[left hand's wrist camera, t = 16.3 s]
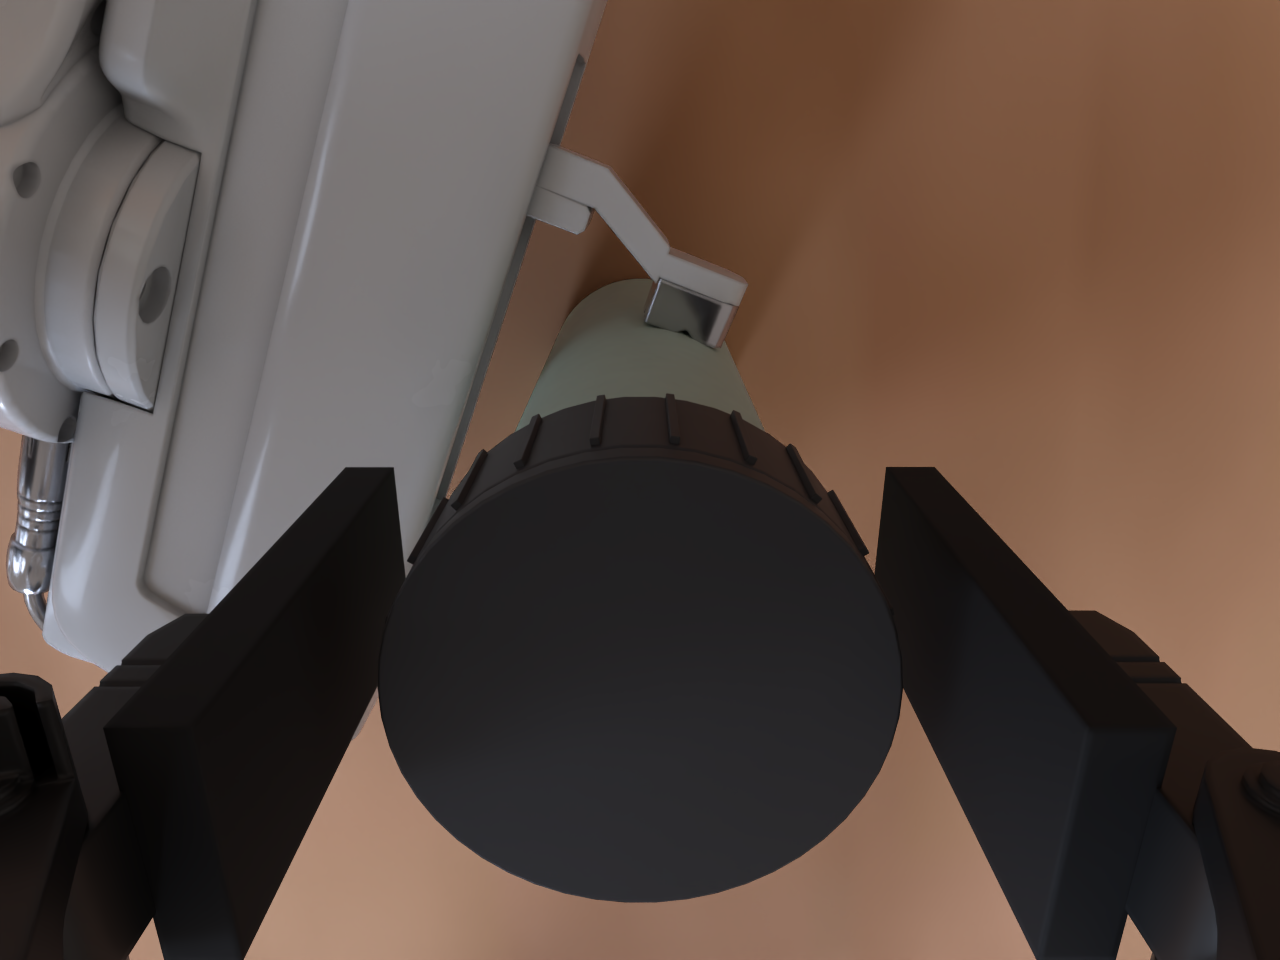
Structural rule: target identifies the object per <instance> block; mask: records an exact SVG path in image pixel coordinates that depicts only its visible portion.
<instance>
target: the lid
mask: <svg viewBox="0 0 1280 960" xmlns="http://www.w3.org/2000/svg"><path fill="white" fill-rule="evenodd" d="M868 553H869V551H868V550H867V548H866V546H865V544H864V543H863V541H862V539H861V537H860V536H859V534H858V532H857V530H856V529H855V527H854V525H853V523H852V522H851V520H850V518H849V516H848V515H847V513H846V511H845V509H844V508H843V506H842V504H841V502H840V501H839V499H838V497H837V495H836V494H835V492H834V491H833V490H831V491H830V492H827V491H826V490H825V488H824V487H823V486H822V484H821V483H820V482H819V480H818V479H817V478H816V476H815V475H814V474H813V472H812V471H811V470H810V469H809V468H808V467H807V466H806V465H805V464H804V462H803V461H802V459H801V457H800V455H799V453H798V451H797V449H796V448H795V447H794V446H793V445H792V444H789V445H788V446H787V447H785V446H784V445H783V444H781V443H780V442H779V441H778V440H776V439H775V438H774V437H772V436H771V435H770V434H768V433H766V432H765V431H763V430H761V429H759V428H757V427H756V426H754V425H752V424H750V423H749V422H747V421H745V420H743V419H742V416H741V414H740V413H739V412H737V411H735V410H733V411H732V413H731V414H728V413H726V412H723V411H721V410H719V409H716V408H713V407H709V406H705V405H701V404H697V403H693V402H689V401H685V400H677V399H675V396H674V394H668V393H666V397H665V398H661V397H619V398H611V399H606V397H605V395H598V396H597V398H596V401H591V402H587V403H583V404H580V405H576V406H572V407H568V408H564V409H562V410H559V411H557V412H554V413H552V414H550V415H547V416H545V417H542V418H541V416H540V414H537V415H535V416H533V417H532V418H531V420H530V423H529V424H528V425H527V426H525V427H523V428H521V429H520V430H518V431H516V432H514V433H512V434H511V435H509V436H508V437H507V438H506V439H504V440H503V441H502V442H500V443H499V444H498V445H496V446H495V447H494V448H492V449H491V450H490V451H489V452H486V451H485V450H484V449H483V450H482V451H481V452H479V453H478V455H477V457H476V459H475V461H474V462H473V464H472V466H471V468H470V470H469V472H468V473H467V474H466V476H465V477H464V478H463V480H462V481H461V482H460V484H459V485H458V486H457V488H456V489H455V490H454V492H453V493H452V495H451V497H450V498H449V500H448V499H446V498H445V497H443V498H442V500H441V501H440V503H439V505H438V507H437V508H436V510H435V512H434V514H433V515H432V517H431V519H430V521H429V522H428V524H427V526H426V528H425V529H424V531H423V533H422V535H421V536H420V538H419V540H418V542H417V543H416V545H415V547H414V549H413V550H412V552H411V554H410V556H409V558H408V559H407V562H409V563H411V564H413V566H412V568H411V570H410V571H409V573H408V575H407V577H406V579H405V581H404V583H403V584H402V586H401V588H400V590H399V592H398V594H397V596H396V597H395V599H394V602H393V604H392V606H391V608H390V610H389V612H388V613H387V615H386V618H385V627H384V631H383V636H382V642H381V647H380V652H379V658H378V696H379V703H380V711H381V718H382V722H383V725H384V729H385V732H386V736H387V739H388V743H389V746H390V749H391V751H392V753H393V755H394V757H395V760H396V762H397V764H398V766H399V768H400V771H401V773H402V774H403V776H404V778H405V779H406V781H407V782H408V784H409V786H410V787H411V789H412V790H413V792H414V793H415V795H416V797H417V798H418V799H419V800H420V802H421V803H422V804H423V805H424V806H425V808H426V809H427V810H428V811H429V812H430V814H431V815H432V816H433V817H434V818H435V820H436V821H438V822H439V823H440V824H441V825H442V826H443V827H444V828H445V829H446V830H447V831H448V832H449V833H450V834H452V835H453V836H454V837H455V838H456V839H457V840H458V841H460V842H461V843H462V844H464V845H465V846H466V847H468V848H469V849H471V850H472V851H473V852H475V853H476V854H477V855H479V856H480V857H482V858H483V859H485V860H487V861H489V862H490V863H492V864H494V865H496V866H497V867H499V868H501V869H503V870H504V871H506V872H508V873H510V874H513V875H515V876H517V877H520V878H522V879H524V880H527V881H529V882H531V883H534V884H536V885H539V886H543V887H546V888H549V889H552V890H555V891H559V892H562V893H565V894H570V895H575V896H580V897H585V898H590V899H596V900H606V901H616V902H665V901H674V900H684V899H690V898H695V897H700V896H705V895H710V894H715V893H719V892H722V891H725V890H728V889H731V888H735V887H738V886H741V885H744V884H747V883H749V882H752V881H754V880H756V879H758V878H761V877H763V876H765V875H768V874H770V873H772V872H774V871H776V870H778V869H780V868H781V867H783V866H785V865H787V864H788V863H790V862H792V861H794V860H795V859H797V858H799V857H800V856H802V855H803V854H805V853H806V852H807V851H809V850H810V849H811V848H813V847H814V846H815V845H817V844H818V843H820V842H821V841H822V840H824V839H825V838H826V837H827V836H828V835H829V834H830V833H831V832H832V831H833V830H834V829H835V828H836V827H838V826H839V825H840V824H841V823H842V822H843V821H844V820H845V819H846V818H847V817H848V815H849V814H850V813H851V812H852V811H853V809H854V808H855V807H856V806H857V805H858V803H859V802H860V801H861V800H862V799H863V797H864V796H865V794H866V793H867V791H868V790H869V788H870V786H871V785H872V783H873V782H874V780H875V778H876V777H877V775H878V774H879V772H880V770H881V768H882V765H883V763H884V761H885V759H886V756H887V754H888V752H889V750H890V747H891V745H892V741H893V738H894V734H895V731H896V727H897V724H898V720H899V716H900V708H901V700H902V692H903V669H902V654H901V649H900V644H899V639H898V633H897V628H896V625H895V623H894V620H893V617H892V616H893V615H894V611H893V607H892V606H891V604H890V602H889V600H888V598H887V597H886V595H885V593H884V591H883V589H882V588H881V586H880V584H879V582H878V580H877V578H876V577H875V575H874V573H873V571H872V569H871V568H870V566H869V564H868V562H867V560H866V559H865V557H864V556H865V555H867V554H868Z"/></svg>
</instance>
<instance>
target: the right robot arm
mask: <svg viewBox="0 0 1280 960" xmlns="http://www.w3.org/2000/svg"><path fill="white" fill-rule="evenodd" d="M607 1H608V0H0V427H1V428H4V429H7V430H10V431H13V432H16V433H19V434H22V435H23V436H22V443H21V451H20V458H19V466H18V475H17V499H18V507H17V510H18V513H17V523H16V528H15V532H14V533H13V534H12V535H11V538H10V541H9V545H8V549H7V556H6V571H7V579H8V583H9V585H10V587H11V588H12V589H13V590H15V591H17V592H19V593H23V595H24V601H25V604H26V606H27V609H28V611H29V613H30V615H31V617H32V618H33V620H34V622H35V623H36V624H37V625H38V627H39V628H40V629H41V630H42V635H43V638H44V640H45V641H46V642H47V643H48V644H49V645H50V646H52V647H53V648H55V649H56V650H58V651H60V652H62V653H64V654H66V655H69V656H71V657H74V658H77V659H80V660H84V661H87V662H90V663H93V664H95V665H97V666H98V667H100V668H101V669H103V670H105V671H106V672H108V673H109V672H110V671H111V670H112V669H113V668H114V667H115V666H116V665H121V663H122V661H121V660H122V659H123V658H124V657H125V656H126V655H127V654H128V653H129V652H130V651H131V650H132V649H133V648H134V647H135V646H136V645H137V644H138V643H139V642H140V641H142V640H143V639H144V638H145V637H146V636H147V635H148V634H150V633H152V632H153V631H155V630H157V629H159V628H161V627H162V626H164V625H166V624H168V623H169V622H171V621H173V620H175V619H177V618H178V617H180V616H182V615H184V614H209V613H210V612H211V611H212V610H213V609H214V608H215V607H216V606H217V605H218V604H219V602H220V601H221V600H222V599H223V598H224V597H225V596H226V595H227V594H228V593H229V592H230V591H231V590H232V589H233V587H234V586H235V585H236V584H237V583H238V582H239V581H240V580H241V579H242V578H243V577H244V576H245V575H246V573H247V572H248V571H249V570H250V569H251V568H252V567H253V566H254V565H255V564H256V563H257V562H258V561H259V560H260V558H261V557H262V556H263V555H264V554H265V553H266V552H267V551H268V550H269V549H270V548H271V547H272V546H273V544H274V543H275V542H276V541H277V540H278V539H279V538H280V537H281V536H282V535H283V534H284V533H285V532H286V531H287V529H288V528H289V527H290V526H291V525H292V524H293V523H294V522H295V521H296V520H297V519H298V518H299V517H300V516H301V514H302V513H303V512H304V511H305V510H306V509H307V508H308V507H309V506H310V505H311V504H312V503H313V502H314V500H315V499H316V498H317V497H318V496H319V495H320V494H321V493H322V492H323V491H324V490H325V489H326V488H327V487H328V485H329V484H330V483H331V482H332V481H333V480H334V479H335V478H336V477H337V476H338V475H339V474H340V473H341V471H342V470H343V469H344V468H345V467H394V473H395V482H396V492H397V501H398V510H399V520H400V529H401V538H402V548H403V557H404V566H405V576H406V577H407V575H408V573H409V571H410V570H411V568H412V566H413V564H411V563H409V562H407V559H408V558H409V556H410V554H411V552H412V550H413V549H414V547H415V545H416V543H417V542H418V540H419V538H420V536H421V535H422V533H423V531H424V529H425V528H426V526H427V524H428V522H429V521H430V519H431V517H432V515H433V514H434V512H435V510H436V508H437V507H438V505H439V503H440V501H441V500H442V498H443V497H445V498H446V496H447V493H448V490H449V487H450V484H451V481H452V478H453V475H454V472H455V468H456V465H457V462H458V459H459V456H460V453H461V450H462V447H463V444H464V441H465V438H466V435H467V432H468V428H469V425H470V422H471V419H472V416H473V413H474V410H475V407H476V404H477V401H478V398H479V395H480V392H481V388H482V385H483V382H484V379H485V376H486V373H487V370H488V367H489V364H490V361H491V358H492V355H493V352H494V348H495V345H496V342H497V339H498V336H499V333H500V330H501V327H502V324H503V321H504V318H505V315H506V311H507V308H508V305H509V302H510V299H511V296H512V293H513V290H514V287H515V284H516V281H517V278H518V275H519V271H520V268H521V265H522V262H523V259H524V256H525V253H526V250H527V247H528V244H529V241H530V238H531V235H532V231H533V228H534V225H535V222H536V219H537V220H540V221H542V222H545V223H548V224H550V225H553V226H556V227H558V228H561V229H564V230H566V231H569V232H572V233H574V234H577V235H578V234H579V233H581V232H583V231H585V229H586V228H587V226H588V225H589V224H590V221H591V219H592V216H593V213H594V211H595V210H596V211H597V212H598V213H599V215H600V216H601V217H602V218H603V220H604V221H605V222H606V223H607V224H608V226H609V227H610V228H611V229H612V231H613V232H614V233H615V234H616V236H617V237H618V238H619V239H620V240H621V242H622V243H623V244H624V245H625V247H626V248H627V249H628V250H629V251H630V253H631V254H632V255H633V256H634V258H635V259H636V260H637V261H638V263H639V264H640V265H641V266H642V267H643V269H644V270H645V271H646V272H647V274H648V275H649V276H650V277H651V278H652V280H653V283H652V286H651V289H650V291H649V294H648V297H647V300H646V303H645V305H644V313H645V314H644V322H646V323H649V324H651V325H654V326H657V327H659V328H662V329H664V330H668V331H672V332H680V331H684V330H687V332H688V333H689V335H690V336H691V338H692V339H694V340H696V341H698V342H700V343H701V344H704V345H706V346H710V347H713V348H721V347H722V344H723V342H724V340H725V337H726V335H727V333H728V331H729V328H730V326H731V324H732V321H733V319H734V317H735V315H736V312H737V310H738V308H739V305H740V302H741V300H742V298H743V295H744V293H745V291H746V288H747V286H748V283H747V282H746V281H745V279H744V278H743V277H741V276H740V275H738V274H736V273H734V272H732V271H730V270H728V269H726V268H723V267H721V266H718V265H715V264H713V263H710V262H708V261H705V260H703V259H700V258H698V257H695V256H693V255H690V254H688V253H685V252H683V251H680V250H678V249H675V248H673V247H670V244H669V241H668V239H667V237H666V236H665V235H664V234H663V232H662V231H661V230H660V228H659V227H658V226H657V225H656V223H655V222H654V221H653V220H652V218H651V217H650V216H649V214H648V213H647V212H646V211H645V209H644V208H643V207H642V205H641V204H640V203H639V202H638V200H637V199H636V198H635V197H634V195H633V194H632V193H631V191H630V190H629V189H628V188H627V186H626V185H625V184H624V182H623V181H622V180H621V179H620V177H619V176H618V175H617V174H616V172H615V171H614V170H613V168H612V167H611V166H609V165H607V164H604V163H602V162H599V161H597V160H594V159H592V158H589V157H587V156H584V155H582V154H579V153H577V152H574V151H572V150H569V149H567V148H564V147H562V146H560V145H561V142H562V139H563V136H564V133H565V130H566V127H567V124H568V121H569V118H570V115H571V111H572V108H573V105H574V102H575V99H576V96H577V93H578V90H579V87H580V84H581V81H582V78H583V75H584V71H585V68H586V65H587V62H588V59H589V56H590V53H591V50H592V47H593V44H594V41H595V38H596V35H597V31H598V28H599V25H600V22H601V19H602V16H603V13H604V10H605V7H606V4H607ZM48 591H49V592H48ZM45 592H48V599H47V603H46V600H45V597H44V593H45ZM377 698H378V686H377V688H376V691H375V693H374V695H373V697H372V699H371V701H370V703H369V705H368V707H367V709H366V711H365V713H364V715H363V717H362V719H361V721H360V723H359V725H358V727H357V729H356V731H355V733H354V735H353V737H352V739H351V740H353V739H355V738H356V737H357V736H358V734H359V733H360V732H361V730H362V728H363V726H364V724H365V722H366V720H367V718H368V716H369V714H370V712H371V711H372V709H373V707H374V705H375V703H376V701H377Z"/></svg>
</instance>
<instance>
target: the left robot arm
mask: <svg viewBox="0 0 1280 960" xmlns="http://www.w3.org/2000/svg"><path fill="white" fill-rule="evenodd" d="M875 577H876V578H877V580H878V582H879V584H880V586H881V588H882V589H883V591H884V593H885V595H886V597H887V598H888V600H889V602H890V604H891V606H892V607H893V611H894V615H893V616H892V617H893V620H894V623H895V625H896V628H897V633H898V639H899V644H900V649H901V654H902V669H903V688H904V691H905V693H906V695H907V697H908V699H909V701H910V703H911V705H912V707H913V709H914V711H915V713H916V715H917V717H918V719H919V721H920V723H921V725H922V727H923V729H924V731H925V733H926V735H927V737H928V739H929V742H930V744H931V746H932V748H933V750H934V752H935V754H936V756H937V758H938V760H939V762H940V764H941V766H942V768H943V770H944V772H945V774H946V776H947V778H948V780H949V782H950V784H951V786H952V788H953V790H954V793H955V795H956V797H957V799H958V801H959V803H960V805H961V807H962V809H963V811H964V813H965V815H966V817H967V819H968V821H969V823H970V825H971V827H972V829H973V831H974V833H975V835H976V837H977V839H978V841H979V844H980V846H981V848H982V850H983V852H984V854H985V856H986V858H987V860H988V862H989V864H990V866H991V868H992V870H993V872H994V874H995V876H996V878H997V880H998V882H999V884H1000V886H1001V888H1002V890H1003V892H1004V895H1005V897H1006V899H1007V901H1008V903H1009V905H1010V907H1011V909H1012V911H1013V913H1014V915H1015V917H1016V919H1017V921H1018V923H1019V925H1020V927H1021V929H1022V931H1023V933H1024V935H1025V937H1026V939H1027V941H1028V943H1029V946H1030V948H1031V950H1032V952H1033V954H1034V956H1035V958H1036V960H1116V957H1117V953H1118V949H1119V945H1120V942H1121V938H1122V934H1123V930H1124V927H1125V923H1126V919H1127V915H1129V916H1130V918H1131V919H1132V921H1133V922H1134V924H1135V926H1136V927H1137V929H1138V930H1139V932H1140V933H1141V935H1142V937H1143V938H1144V940H1145V941H1146V943H1147V944H1148V946H1149V947H1150V949H1151V951H1152V956H1151V959H1150V960H1280V752H1277V751H1272V750H1263V749H1254V748H1252V747H1251V746H1250V745H1249V744H1248V743H1247V742H1246V741H1245V740H1244V739H1243V738H1242V737H1241V736H1240V735H1239V734H1238V733H1237V732H1236V731H1235V730H1234V729H1233V728H1232V727H1231V726H1230V725H1228V724H1227V723H1226V722H1225V721H1224V720H1223V719H1222V718H1221V717H1220V716H1219V715H1218V714H1217V713H1216V712H1215V711H1214V710H1213V709H1212V708H1211V707H1210V706H1209V705H1208V704H1207V703H1206V702H1205V701H1204V700H1203V699H1202V698H1201V697H1200V696H1199V695H1198V694H1197V693H1196V692H1195V691H1194V690H1193V689H1192V688H1191V687H1189V686H1188V685H1187V684H1186V683H1181V678H1180V677H1179V676H1178V675H1177V674H1176V673H1175V672H1174V671H1173V670H1172V669H1171V668H1170V667H1169V666H1168V665H1167V664H1166V663H1165V662H1160V661H1159V656H1158V655H1157V654H1156V653H1155V652H1154V651H1153V650H1152V649H1150V648H1149V647H1148V646H1147V645H1146V644H1145V643H1144V642H1143V641H1142V640H1141V639H1140V638H1139V637H1138V636H1137V635H1136V634H1135V633H1134V632H1133V631H1131V630H1129V629H1127V628H1125V627H1124V626H1122V625H1120V624H1118V623H1116V622H1115V621H1113V620H1111V619H1109V618H1107V617H1106V616H1104V615H1102V614H1100V613H1099V612H1097V611H1068V610H1067V609H1066V608H1065V607H1064V606H1063V605H1062V604H1061V602H1060V601H1059V600H1058V599H1057V598H1056V597H1055V596H1054V595H1053V594H1052V593H1051V592H1050V591H1049V590H1048V589H1047V587H1046V586H1045V585H1044V584H1043V583H1042V582H1041V581H1040V580H1039V579H1038V578H1037V577H1036V576H1035V575H1034V574H1033V572H1032V571H1031V570H1030V569H1029V568H1028V567H1027V566H1026V565H1025V564H1024V563H1023V562H1022V561H1021V560H1020V558H1019V557H1018V556H1017V555H1016V554H1015V553H1014V552H1013V551H1012V550H1011V549H1010V548H1009V547H1008V546H1007V545H1006V543H1005V542H1004V541H1003V540H1002V539H1001V538H1000V537H999V536H998V535H997V534H996V533H995V532H994V531H993V529H992V528H991V527H990V526H989V525H988V524H987V523H986V522H985V521H984V520H983V519H982V518H981V517H980V516H979V514H978V513H977V512H976V511H975V510H974V509H973V508H972V507H971V506H970V505H969V504H968V503H967V502H966V500H965V499H964V498H963V497H962V496H961V495H960V494H959V493H958V492H957V491H956V490H955V489H954V488H953V487H952V485H951V484H950V483H949V482H948V481H947V480H946V479H945V478H944V477H943V476H942V475H941V474H940V473H939V472H938V470H937V469H936V468H935V467H886V473H885V482H884V492H883V501H882V510H881V520H880V529H879V538H878V547H877V557H876V566H875ZM405 579H406V576H405V566H404V557H403V548H402V538H401V529H400V520H399V510H398V501H397V492H396V482H395V473H394V467H345V468H344V469H343V470H342V471H341V473H340V474H339V475H338V476H337V477H336V478H335V479H334V480H333V481H332V482H331V483H330V484H329V485H328V487H327V488H326V489H325V490H324V491H323V492H322V493H321V494H320V495H319V496H318V497H317V498H316V499H315V500H314V502H313V503H312V504H311V505H310V506H309V507H308V508H307V509H306V510H305V511H304V512H303V513H302V514H301V516H300V517H299V518H298V519H297V520H296V521H295V522H294V523H293V524H292V525H291V526H290V527H289V528H288V529H287V531H286V532H285V533H284V534H283V535H282V536H281V537H280V538H279V539H278V540H277V541H276V542H275V543H274V544H273V546H272V547H271V548H270V549H269V550H268V551H267V552H266V553H265V554H264V555H263V556H262V557H261V558H260V560H259V561H258V562H257V563H256V564H255V565H254V566H253V567H252V568H251V569H250V570H249V571H248V572H247V573H246V575H245V576H244V577H243V578H242V579H241V580H240V581H239V582H238V583H237V584H236V585H235V586H234V587H233V589H232V590H231V591H230V592H229V593H228V594H227V595H226V596H225V597H224V598H223V599H222V600H221V601H220V602H219V604H218V605H217V606H216V607H215V608H214V609H213V610H212V611H211V612H210V613H209V614H184V615H182V616H180V617H178V618H177V619H175V620H173V621H171V622H169V623H168V624H166V625H164V626H162V627H161V628H159V629H157V630H155V631H153V632H152V633H150V634H148V635H147V636H146V637H145V638H144V639H143V640H142V641H140V642H139V643H138V644H137V645H136V646H135V647H134V648H133V649H132V650H131V651H130V652H129V653H128V654H127V655H126V656H125V657H124V658H123V659H122V660H121V661H122V663H121V665H116V666H115V667H114V668H113V669H112V670H111V671H110V672H109V673H108V674H107V675H106V676H105V677H104V678H103V679H102V680H101V681H100V686H99V687H94V688H93V689H92V690H91V691H90V692H89V693H88V694H87V695H86V696H84V697H83V698H82V699H81V700H80V701H79V702H78V703H77V704H76V705H75V706H74V707H73V708H72V709H71V710H70V711H69V712H68V713H67V714H66V715H65V716H64V717H63V718H62V719H61V716H60V713H59V709H58V705H57V702H56V698H55V695H54V691H53V688H52V685H51V684H49V683H48V682H46V681H45V680H43V679H42V678H40V677H39V676H35V675H27V674H19V673H6V674H0V960H130V959H129V956H128V955H129V954H130V952H131V951H132V949H133V948H134V946H135V944H136V943H137V941H138V940H139V938H140V937H141V935H142V933H143V932H144V930H145V929H146V927H147V926H148V924H149V922H150V921H151V919H152V918H153V919H154V923H155V927H156V930H157V934H158V938H159V942H160V946H161V949H162V953H163V957H164V960H244V958H245V956H246V954H247V952H248V950H249V948H250V945H251V943H252V941H253V939H254V937H255V935H256V933H257V931H258V929H259V927H260V925H261V923H262V921H263V919H264V917H265V915H266V913H267V911H268V909H269V907H270V905H271V903H272V901H273V899H274V897H275V894H276V892H277V890H278V888H279V886H280V884H281V882H282V880H283V878H284V876H285V874H286V872H287V870H288V868H289V866H290V864H291V862H292V860H293V858H294V856H295V854H296V852H297V850H298V848H299V846H300V843H301V841H302V839H303V837H304V835H305V833H306V831H307V829H308V827H309V825H310V823H311V821H312V819H313V817H314V815H315V813H316V811H317V809H318V807H319V805H320V803H321V801H322V799H323V797H324V795H325V792H326V790H327V788H328V786H329V784H330V782H331V780H332V778H333V776H334V774H335V772H336V770H337V768H338V766H339V764H340V762H341V760H342V758H343V756H344V754H345V752H346V750H347V748H348V746H349V744H350V742H351V739H352V737H353V735H354V733H355V731H356V729H357V727H358V725H359V723H360V721H361V719H362V717H363V715H364V713H365V711H366V709H367V707H368V705H369V703H370V701H371V699H372V697H373V695H374V693H375V691H376V688H377V686H378V658H379V652H380V647H381V642H382V636H383V631H384V627H385V618H386V615H387V613H388V612H389V610H390V608H391V606H392V604H393V602H394V599H395V597H396V596H397V594H398V592H399V590H400V588H401V586H402V584H403V583H404V581H405Z"/></svg>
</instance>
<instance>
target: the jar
mask: <svg viewBox="0 0 1280 960" xmlns="http://www.w3.org/2000/svg"><path fill="white" fill-rule="evenodd" d="M652 283H653V280H651V279H629V280H622V281H618V282H614V283H611V284H609V285H606V286H604V287H601V288H600V289H598V290H596V291H594V292H593V293H591V294H590V295H588V296H587V297H586V298H584V299H583V300H582V301H581V302H580V303H579V304H578V305H577V306H576V307H575V308H574V309H573V310H572V312H571V313H570V314H569V316H568V317H567V318H566V320H565V322H564V324H563V326H562V327H561V329H560V332H559V334H558V336H557V338H556V341H555V343H554V345H553V347H552V350H551V352H550V354H549V356H548V359H547V361H546V363H545V365H544V368H543V370H542V372H541V374H540V377H539V379H538V381H537V383H536V386H535V388H534V390H533V392H532V395H531V397H530V399H529V401H528V404H527V406H526V408H525V410H524V413H523V415H522V417H521V419H520V422H519V424H518V426H517V428H516V431H518V430H520V429H521V428H523V427H525V426H527V425H528V424H529V423H530V420H531V418H532V417H533V416H535V415H537V414H540V416H541V418H542V417H545V416H547V415H550V414H552V413H554V412H557V411H559V410H562V409H564V408H568V407H572V406H576V405H580V404H583V403H587V402H591V401H596V398H597V396H598V395H605V397H606V399H611V398H619V397H661V398H665V397H666V393H668V394H674V396H675V399H677V400H685V401H689V402H693V403H697V404H701V405H705V406H709V407H713V408H716V409H719V410H721V411H723V412H726V413H728V414H731V413H732V411H733V410H735V411H737V412H739V413H740V414H741V416H742V419H743V420H745V421H747V422H749V423H750V424H752V425H754V426H756V427H757V428H759V429H761V430H763V431H765V430H764V428H763V425H762V423H761V421H760V419H759V416H758V414H757V412H756V410H755V408H754V405H753V403H752V401H751V399H750V396H749V394H748V392H747V390H746V387H745V385H744V383H743V381H742V378H741V376H740V374H739V372H738V369H737V367H736V365H735V363H734V360H733V358H732V356H731V354H730V352H729V349H728V347H727V345H726V343H725V340H724V342H723V344H722V347H721V348H713V347H710V346H706V345H704V344H701V343H700V342H698V341H696V340H694V339H692V338H691V336H690V335H689V333H688V332H687V330H684V331H680V332H672V331H668V330H664V329H662V328H659V327H657V326H654V325H651V324H649V323H646V322H644V314H645V313H644V305H645V303H646V300H647V297H648V294H649V291H650V289H651V286H652ZM516 431H515V432H516Z"/></svg>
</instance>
